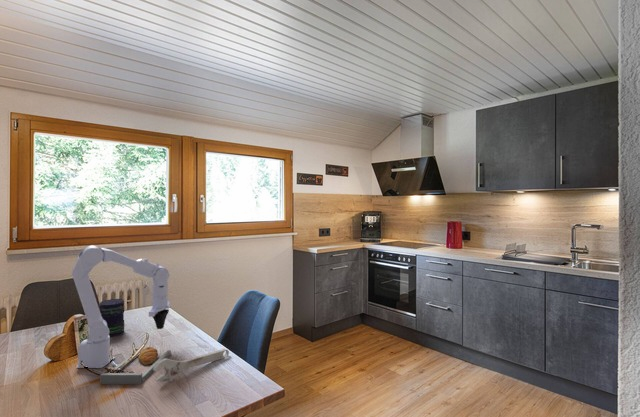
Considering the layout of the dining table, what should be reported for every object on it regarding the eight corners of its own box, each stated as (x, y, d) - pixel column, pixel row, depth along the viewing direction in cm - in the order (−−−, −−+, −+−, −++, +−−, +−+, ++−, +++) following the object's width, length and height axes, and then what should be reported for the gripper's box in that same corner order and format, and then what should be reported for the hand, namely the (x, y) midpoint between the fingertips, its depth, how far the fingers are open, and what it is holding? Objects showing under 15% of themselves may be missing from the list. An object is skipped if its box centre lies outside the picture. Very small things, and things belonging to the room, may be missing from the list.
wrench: (228, 363, 132) (153, 388, 107) (225, 362, 133) (150, 386, 108) (230, 342, 132) (156, 362, 108) (227, 341, 133) (153, 361, 109)
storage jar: (94, 336, 152) (94, 303, 152) (114, 328, 161) (114, 297, 161) (109, 339, 148) (109, 305, 148) (129, 331, 157) (129, 300, 157)
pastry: (160, 363, 126) (159, 353, 126) (139, 368, 122) (139, 357, 122) (156, 354, 134) (156, 344, 134) (137, 358, 130) (137, 348, 130)
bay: (100, 383, 111) (100, 374, 111) (137, 353, 133) (137, 346, 133) (140, 384, 111) (140, 375, 111) (170, 353, 133) (170, 346, 133)
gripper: (161, 300, 131) (161, 335, 131) (177, 291, 146) (177, 322, 146) (143, 300, 131) (143, 335, 131) (161, 291, 146) (161, 322, 146)
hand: (160, 328), depth 138 cm, fingers closed
